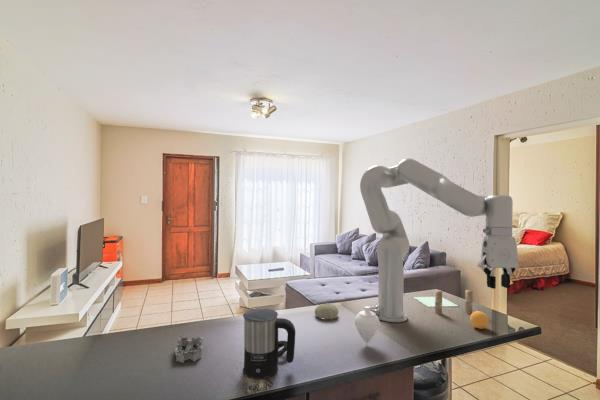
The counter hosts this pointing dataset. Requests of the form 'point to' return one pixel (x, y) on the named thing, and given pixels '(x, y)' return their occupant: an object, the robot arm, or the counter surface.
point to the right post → (468, 301)
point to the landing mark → (431, 302)
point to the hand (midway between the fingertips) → (498, 286)
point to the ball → (479, 320)
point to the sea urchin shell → (326, 311)
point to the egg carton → (189, 348)
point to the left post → (438, 302)
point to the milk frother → (265, 342)
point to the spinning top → (367, 324)
